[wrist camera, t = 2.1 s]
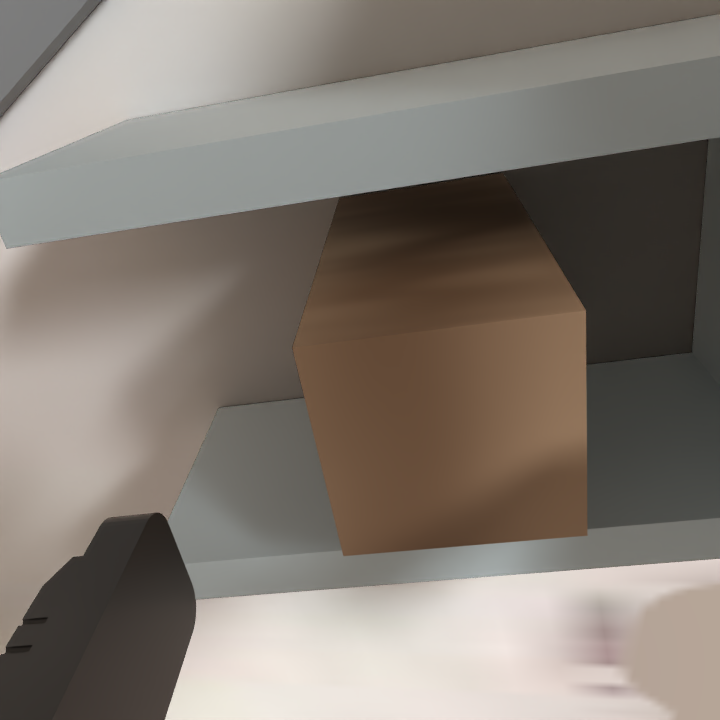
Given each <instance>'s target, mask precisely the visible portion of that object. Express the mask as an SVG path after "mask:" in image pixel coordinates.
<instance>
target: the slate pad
mask: <svg viewBox="0 0 720 720" xmlns="http://www.w3.org/2000/svg"><path fill="white" fill-rule="evenodd" d="M100 2H101V0H0V117H1V116H2V114H3V113H4V112H5V111H6V110H7V109H8V107H9V106H10V105H11V104H12V103H13V102H14V101H15V99H16V98H17V97H18V96H19V95H20V94H21V92H22V91H23V90H24V89H25V88H26V87H27V86H28V84H29V83H30V82H31V81H32V80H33V79H34V78H35V76H36V75H37V74H38V73H39V72H40V71H41V69H42V68H43V67H44V66H45V65H46V64H47V63H48V61H49V60H50V59H51V58H52V57H53V56H54V55H55V53H56V52H57V51H58V50H59V49H60V48H61V46H62V45H63V44H64V43H65V42H66V41H67V40H68V38H69V37H70V36H71V35H72V34H73V33H74V32H75V30H76V29H77V28H78V27H79V26H80V25H81V23H82V22H83V21H84V20H85V19H86V18H87V17H88V15H89V14H90V13H91V12H92V11H93V10H94V8H95V7H96V6H97V5H98V4H99V3H100Z"/></svg>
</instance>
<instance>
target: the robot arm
mask: <svg viewBox="0 0 720 720" xmlns="http://www.w3.org/2000/svg"><path fill="white" fill-rule="evenodd" d="M195 617H196V599H195V592H194V588H193V585H192V582H191V579H190V577H189V574H188V572H187V569H186V567H185V564H184V562H183V559H182V557H181V554H180V551H179V549H178V546H177V544H176V541H175V539H174V536H173V534H172V531H171V529H170V526H169V524H168V521H167V520H166V518H165V517H164V516H163V515H162V514H160V513H150V514H140V515H130V516H121V517H111V518H108V519H106V520H105V521H104V522H103V523H102V524H101V526H100V527H99V529H98V531H97V533H96V534H95V536H94V538H93V540H92V541H91V543H90V545H89V547H88V548H87V550H86V552H85V554H84V555H83V556H80V557H73V558H72V559H70V560H69V561H68V562H67V563H66V564H65V565H64V566H63V567H62V568H61V569H60V570H59V571H58V572H57V573H56V574H55V575H54V576H53V577H52V578H51V579H50V580H49V581H48V582H47V583H45V584H44V585H43V586H42V588H41V590H40V591H39V593H38V595H37V596H36V598H35V600H34V601H33V603H32V604H31V606H30V608H29V609H28V611H27V613H26V614H25V616H24V618H23V625H22V626H18V628H17V629H16V631H15V632H14V634H13V636H12V637H11V639H10V641H9V642H8V644H7V646H6V653H5V654H1V655H0V720H165V717H166V714H167V711H168V707H169V704H170V701H171V698H172V695H173V692H174V689H175V686H176V683H177V679H178V676H179V673H180V670H181V667H182V664H183V661H184V658H185V655H186V651H187V648H188V645H189V642H190V639H191V636H192V633H193V629H194V624H195Z"/></svg>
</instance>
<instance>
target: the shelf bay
mask: <svg viewBox="0 0 720 720" xmlns="http://www.w3.org/2000/svg"><path fill="white" fill-rule="evenodd" d="M705 139H709V141H708V154H707V167H706V179H705V192H704V205H703V217H702V230H701V243H700V255H699V268H698V281H697V294H696V306H695V319H694V332H693V344H692V353H684V354H675V355H667V356H658V357H650V358H641V359H633V360H624V361H615V362H607V363H598V364H590V365H586V390H587V534H588V536H578V537H566V538H554V539H542V540H530V541H519V542H507V543H495V544H483V545H471V546H459V547H447V548H435V549H423V550H411V551H400V552H388V553H376V554H364V555H352V556H343V553H342V549H341V545H340V541H339V537H338V533H337V528H336V524H335V520H334V516H333V512H332V508H331V504H330V500H329V496H328V492H327V488H326V484H325V480H324V476H323V472H322V467H321V463H320V459H319V455H318V451H317V447H316V443H315V439H314V435H313V431H312V427H311V423H310V419H309V415H308V410H307V406H306V402H305V398H299V399H291V400H282V401H273V402H265V403H256V404H248V405H239V406H231V407H222V408H218V411H217V413H216V415H215V417H214V420H213V422H212V424H211V426H210V428H209V431H208V433H207V435H206V437H205V440H204V442H203V444H202V446H201V448H200V451H199V453H198V455H197V457H196V459H195V462H194V464H193V466H192V468H191V471H190V473H189V475H188V477H187V479H186V482H185V484H184V486H183V488H182V491H181V493H180V495H179V497H178V499H177V502H176V504H175V506H174V508H173V510H172V513H171V515H170V517H169V519H168V524H169V526H170V529H171V531H172V534H173V536H174V539H175V541H176V544H177V546H178V549H179V551H180V554H181V557H182V559H183V562H184V564H185V567H186V569H187V572H188V574H189V577H190V579H191V582H192V585H193V588H194V592H195V599H209V598H222V597H235V596H247V595H260V594H273V593H286V592H299V591H311V590H324V589H337V588H350V587H363V586H375V585H388V584H401V583H414V582H427V581H439V580H452V579H465V578H478V577H490V576H503V575H516V574H529V573H542V572H554V571H567V570H580V569H593V568H606V567H618V566H631V565H644V564H657V563H669V562H682V561H695V560H708V559H720V14H716V15H711V16H705V17H699V18H694V19H688V20H683V21H677V22H672V23H666V24H660V25H655V26H649V27H644V28H638V29H632V30H627V31H621V32H616V33H610V34H605V35H599V36H593V37H588V38H582V39H577V40H571V41H565V42H560V43H554V44H549V45H543V46H538V47H532V48H526V49H521V50H515V51H510V52H504V53H498V54H493V55H487V56H482V57H476V58H470V59H465V60H459V61H454V62H448V63H443V64H437V65H431V66H426V67H420V68H415V69H409V70H403V71H398V72H392V73H387V74H381V75H376V76H370V77H364V78H359V79H353V80H348V81H342V82H336V83H331V84H325V85H320V86H314V87H309V88H303V89H297V90H292V91H286V92H281V93H275V94H269V95H264V96H258V97H253V98H247V99H242V100H236V101H230V102H225V103H219V104H214V105H208V106H202V107H197V108H191V109H186V110H180V111H174V112H169V113H163V114H158V115H152V116H147V117H141V118H135V119H130V120H126V121H123V122H121V123H118V124H116V125H114V126H111V127H109V128H107V129H104V130H102V131H99V132H97V133H95V134H92V135H90V136H88V137H85V138H83V139H80V140H78V141H76V142H73V143H71V144H69V145H66V146H64V147H61V148H59V149H57V150H54V151H52V152H50V153H47V154H45V155H42V156H40V157H38V158H35V159H33V160H31V161H28V162H26V163H23V164H21V165H19V166H16V167H14V168H12V169H9V170H7V171H4V172H2V173H0V235H1V237H2V239H3V242H4V244H5V246H6V248H7V249H8V248H14V247H20V246H27V245H33V244H40V243H46V242H52V241H59V240H65V239H72V238H78V237H84V236H91V235H97V234H104V233H110V232H116V231H123V230H129V229H136V228H142V227H148V226H155V225H161V224H168V223H174V222H180V221H187V220H193V219H200V218H206V217H212V216H219V215H225V214H232V213H238V212H244V211H251V210H257V209H264V208H270V207H276V206H283V205H289V204H296V203H302V202H308V201H315V200H321V199H328V198H334V197H340V196H347V195H353V194H360V193H366V192H372V191H379V190H385V189H392V188H398V187H404V186H411V185H417V184H424V183H430V182H436V181H443V180H449V179H456V178H462V177H468V176H475V175H481V174H488V173H494V172H500V171H507V170H513V169H520V168H526V167H532V166H539V165H545V164H552V163H558V162H564V161H571V160H577V159H584V158H590V157H596V156H603V155H609V154H616V153H622V152H628V151H635V150H641V149H648V148H654V147H660V146H667V145H673V144H680V143H686V142H692V141H699V140H705Z"/></svg>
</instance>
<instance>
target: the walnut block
mask: <svg viewBox="0 0 720 720" xmlns="http://www.w3.org/2000/svg"><path fill="white" fill-rule="evenodd" d="M292 349H293V354H294V358H295V362H296V366H297V370H298V374H299V378H300V382H301V386H302V390H303V394H304V398H305V402H306V406H307V410H308V415H309V419H310V423H311V427H312V431H313V435H314V439H315V443H316V447H317V451H318V455H319V459H320V463H321V467H322V472H323V476H324V480H325V484H326V488H327V492H328V496H329V500H330V504H331V508H332V512H333V516H334V520H335V524H336V528H337V533H338V537H339V541H340V545H341V549H342V553H343V556H352V555H364V554H376V553H388V552H400V551H411V550H423V549H435V548H447V547H459V546H471V545H483V544H495V543H507V542H519V541H530V540H542V539H554V538H566V537H578V536H588V534H587V390H586V310H585V308H584V306H583V305H582V303H581V301H580V300H579V298H578V296H577V295H576V293H575V291H574V290H573V288H572V287H571V285H570V283H569V282H568V280H567V278H566V277H565V275H564V273H563V272H562V270H561V268H560V267H559V265H558V263H557V262H556V260H555V258H554V257H553V255H552V253H551V252H550V250H549V248H548V247H547V245H546V243H545V242H544V240H543V238H542V237H541V235H540V233H539V232H538V230H537V228H536V227H535V225H534V223H533V222H532V220H531V219H530V217H529V215H528V214H527V212H526V210H525V209H524V207H523V205H522V204H521V202H520V200H519V199H518V197H517V195H516V194H515V192H514V190H513V189H512V187H511V185H510V184H509V182H508V180H507V179H506V177H505V175H504V174H503V173H499V174H493V175H486V176H480V177H473V178H467V179H461V180H454V181H448V182H441V183H435V184H429V185H422V186H416V187H409V188H403V189H396V190H390V191H384V192H377V193H371V194H364V195H358V196H352V197H345V198H339V201H338V204H337V208H336V211H335V214H334V217H333V220H332V223H331V227H330V230H329V233H328V236H327V239H326V242H325V246H324V249H323V252H322V255H321V258H320V261H319V264H318V268H317V271H316V274H315V277H314V280H313V283H312V287H311V290H310V293H309V296H308V299H307V302H306V306H305V309H304V312H303V315H302V318H301V321H300V324H299V328H298V331H297V334H296V337H295V340H294V343H293V347H292Z"/></svg>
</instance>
